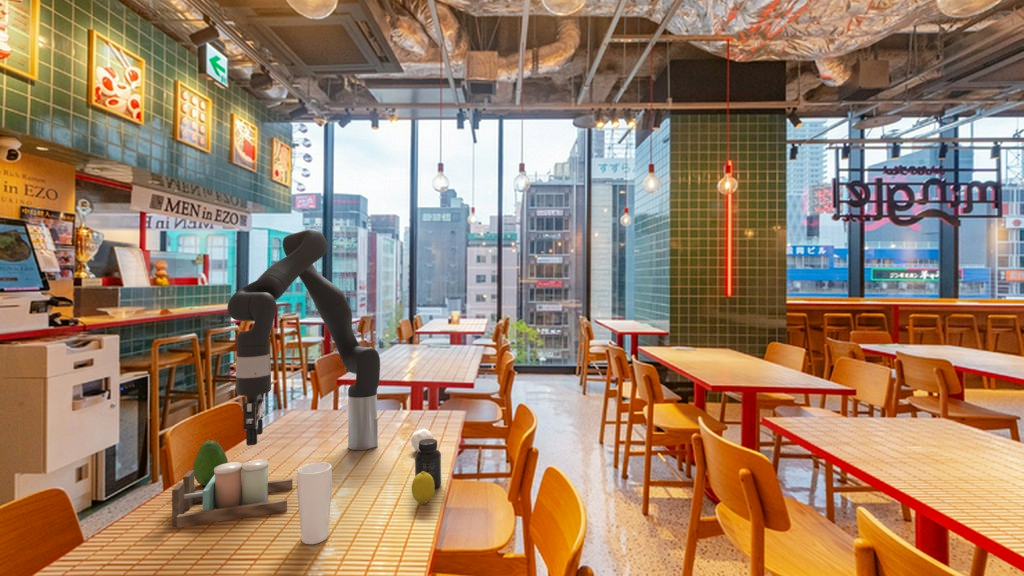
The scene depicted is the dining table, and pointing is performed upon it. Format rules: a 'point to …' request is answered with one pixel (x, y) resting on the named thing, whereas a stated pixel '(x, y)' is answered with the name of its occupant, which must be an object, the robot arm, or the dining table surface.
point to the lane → (224, 513)
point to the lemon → (423, 487)
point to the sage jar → (255, 482)
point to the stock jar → (228, 485)
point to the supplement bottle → (429, 460)
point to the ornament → (420, 437)
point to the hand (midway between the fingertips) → (254, 439)
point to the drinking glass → (314, 501)
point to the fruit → (208, 461)
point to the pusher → (206, 495)
